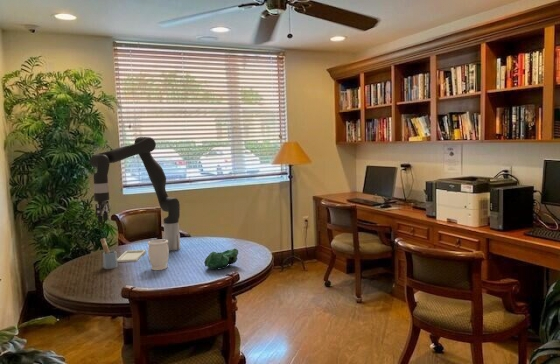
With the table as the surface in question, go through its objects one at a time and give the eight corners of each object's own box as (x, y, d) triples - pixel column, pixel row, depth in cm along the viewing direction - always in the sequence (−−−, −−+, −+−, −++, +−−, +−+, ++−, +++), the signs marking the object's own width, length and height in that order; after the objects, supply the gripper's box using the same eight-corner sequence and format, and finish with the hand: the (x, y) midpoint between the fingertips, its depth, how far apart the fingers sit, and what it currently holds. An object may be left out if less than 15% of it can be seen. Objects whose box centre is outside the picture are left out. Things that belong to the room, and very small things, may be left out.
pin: (115, 266, 236) (112, 237, 234) (114, 267, 234) (110, 238, 232) (104, 267, 235) (100, 238, 234) (102, 268, 233) (99, 239, 231)
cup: (118, 266, 238) (117, 250, 237) (115, 269, 232) (114, 253, 231) (106, 266, 238) (105, 251, 237) (102, 270, 231) (101, 254, 230)
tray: (145, 253, 266) (145, 249, 266) (136, 262, 245) (136, 259, 244) (126, 253, 265) (126, 250, 265) (116, 263, 244) (115, 260, 244)
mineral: (226, 261, 243) (226, 244, 242) (244, 266, 232) (243, 248, 231) (199, 268, 231) (198, 250, 230) (216, 274, 219) (216, 255, 218)
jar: (151, 272, 226) (149, 244, 224) (147, 267, 235) (146, 240, 233) (171, 269, 231) (170, 241, 229) (167, 264, 240) (165, 238, 238)
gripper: (104, 192, 224) (106, 223, 225) (112, 190, 238) (114, 218, 239) (89, 193, 223) (91, 224, 225) (98, 190, 237) (100, 219, 239)
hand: (103, 221), depth 232 cm, fingers open, 8 cm apart
